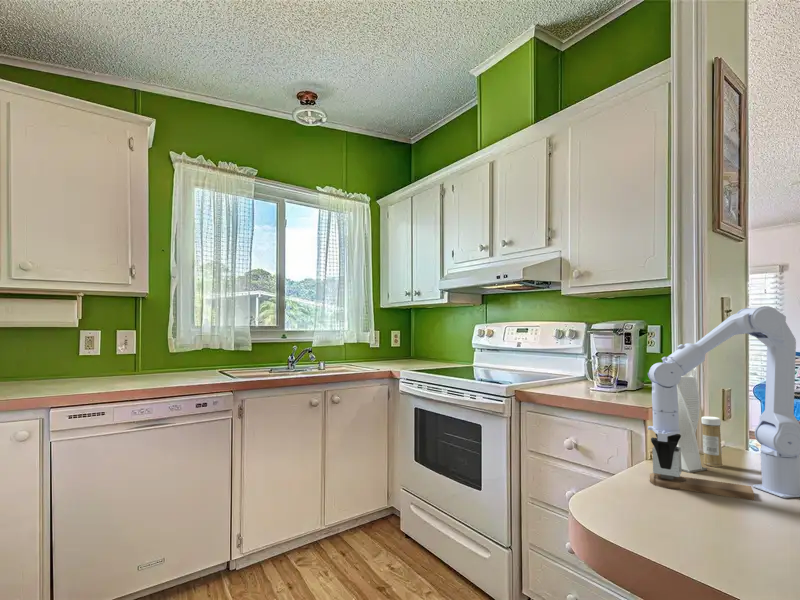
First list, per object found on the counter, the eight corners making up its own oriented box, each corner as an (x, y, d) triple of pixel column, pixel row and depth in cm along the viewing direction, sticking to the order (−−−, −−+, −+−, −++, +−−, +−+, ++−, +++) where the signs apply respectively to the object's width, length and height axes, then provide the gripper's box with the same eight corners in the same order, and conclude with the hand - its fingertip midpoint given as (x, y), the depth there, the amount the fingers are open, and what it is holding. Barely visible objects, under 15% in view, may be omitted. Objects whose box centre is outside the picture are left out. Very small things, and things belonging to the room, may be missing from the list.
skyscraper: (711, 471, 126) (707, 367, 128) (691, 474, 123) (687, 368, 125) (682, 463, 134) (678, 365, 135) (662, 466, 130) (659, 366, 132)
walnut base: (750, 491, 110) (749, 472, 111) (755, 502, 103) (754, 481, 104) (650, 476, 121) (650, 459, 121) (648, 485, 114) (648, 466, 115)
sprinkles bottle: (725, 465, 131) (723, 417, 132) (718, 468, 128) (716, 419, 129) (707, 462, 135) (705, 415, 136) (700, 464, 132) (698, 416, 133)
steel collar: (656, 467, 120) (655, 444, 120) (681, 471, 116) (680, 447, 117) (653, 472, 115) (652, 448, 116) (679, 477, 112) (678, 451, 112)
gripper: (651, 405, 125) (653, 456, 124) (642, 413, 113) (644, 469, 112) (682, 408, 121) (684, 461, 120) (676, 416, 109) (678, 475, 108)
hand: (667, 465), depth 116 cm, fingers closed on steel collar, 6 cm apart
